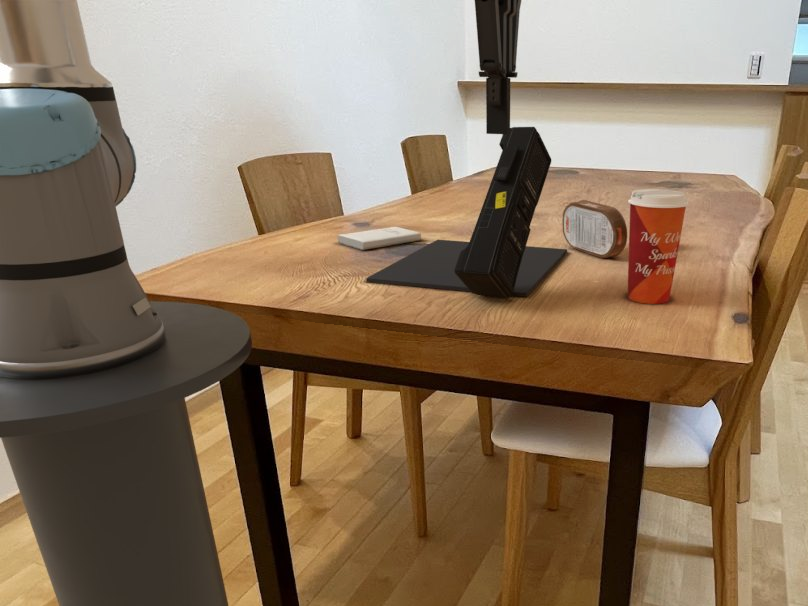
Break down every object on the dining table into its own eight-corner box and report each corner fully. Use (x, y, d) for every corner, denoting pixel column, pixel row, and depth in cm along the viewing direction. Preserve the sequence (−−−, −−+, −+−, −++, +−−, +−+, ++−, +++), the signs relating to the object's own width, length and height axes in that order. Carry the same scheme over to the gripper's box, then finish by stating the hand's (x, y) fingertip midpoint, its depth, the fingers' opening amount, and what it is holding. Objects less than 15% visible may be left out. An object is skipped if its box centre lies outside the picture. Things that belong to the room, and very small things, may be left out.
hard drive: (338, 243, 119) (394, 234, 127) (363, 251, 113) (421, 240, 121) (337, 234, 118) (394, 225, 126) (363, 241, 113) (420, 231, 121)
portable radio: (490, 270, 81) (546, 105, 87) (448, 266, 83) (506, 107, 90) (513, 300, 87) (564, 145, 94) (474, 296, 90) (526, 146, 97)
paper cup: (639, 308, 86) (650, 198, 80) (609, 292, 92) (617, 189, 86) (689, 302, 88) (703, 195, 83) (657, 287, 95) (668, 187, 89)
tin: (626, 261, 109) (631, 209, 106) (612, 263, 108) (616, 210, 104) (572, 243, 121) (574, 196, 117) (558, 245, 119) (560, 197, 116)
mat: (366, 282, 96) (365, 278, 95) (437, 242, 120) (437, 239, 120) (526, 297, 90) (526, 292, 89) (567, 252, 114) (567, 249, 114)
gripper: (514, -105, 68) (512, 138, 78) (544, -77, 80) (538, 131, 89) (446, -101, 70) (452, 136, 80) (485, -74, 82) (486, 130, 91)
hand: (498, 133), depth 85 cm, fingers closed
